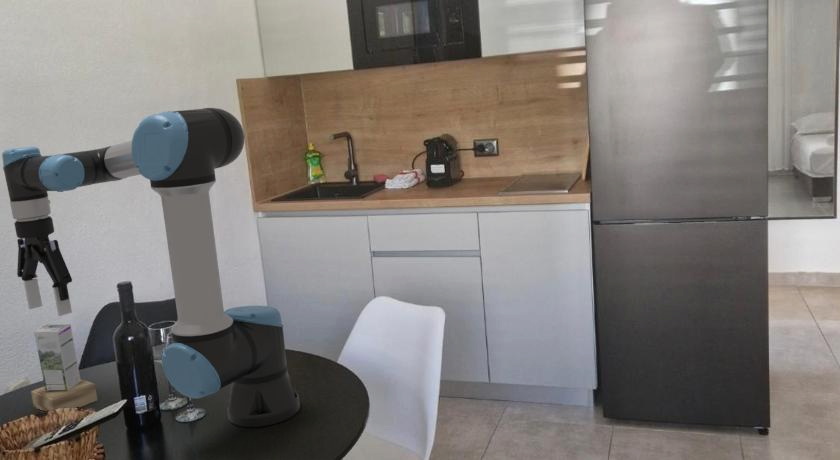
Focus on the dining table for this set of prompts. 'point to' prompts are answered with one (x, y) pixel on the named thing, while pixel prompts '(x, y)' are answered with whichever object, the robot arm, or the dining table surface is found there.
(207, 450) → the dining table surface
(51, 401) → the oak riser block
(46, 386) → the syrup box
